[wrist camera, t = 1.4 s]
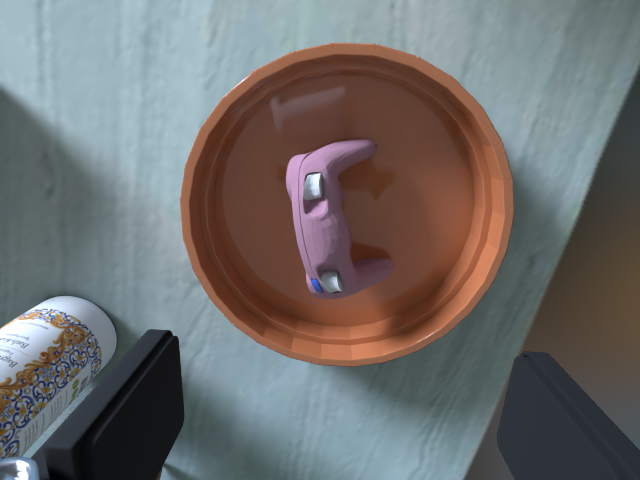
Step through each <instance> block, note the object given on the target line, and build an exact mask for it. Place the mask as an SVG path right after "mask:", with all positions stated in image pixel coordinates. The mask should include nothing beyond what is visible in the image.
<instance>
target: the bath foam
mask: <svg viewBox="0 0 640 480" xmlns="http://www.w3.org/2000/svg"><path fill="white" fill-rule="evenodd" d="M116 345H117V336H116V331H115V328H114V326H113V324H112V322H111V320H110V319H109V317H108V316H107V315H106V314H105V313H104V312H103V311H102V310H101V309H100V308H99V307H97V306H96V305H95V304H93V303H91V302H89V301H87V300H85V299H82V298H78V297H73V296H58V297H53V298H50V299H48V300H46V301H44V302H42V303H40V304H39V305H37V306H35V307H34V308H32V309H31V310H29V311H27V312H26V313H24V314H22V315H21V316H19V317H17V318H16V319H14V320H13V321H11V322H9V323H8V324H6V325H5V326H3V327H2V328H0V459H3V458H7V457H16V456H21V457H22V456H23V454H24V453H25V452H26V451H27V450H28V449H29V448H30V447H31V446H32V445H33V444H34V443H35V441H36V440H37V439H38V438H39V437H40V436H41V435H42V434H43V433H44V432H45V431H46V430H47V428H48V427H49V426H50V425H51V424H52V423H53V422H54V421H55V420H56V419H57V418H58V417H59V415H60V414H61V413H62V412H63V411H64V410H65V409H66V408H67V407H68V406H69V405H70V404H71V402H72V401H73V400H74V399H75V398H76V397H77V396H78V395H79V394H80V393H81V392H82V390H83V389H84V388H85V387H86V386H87V385H88V384H89V383H90V382H91V381H92V380H93V379H94V377H95V376H96V375H97V374H98V373H99V372H100V371H101V370H102V368H103V367H104V366H105V365H106V364H107V363H108V362H109V361H110V359H111V358H112V356H113V354H114V352H115V349H116Z"/></svg>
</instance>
